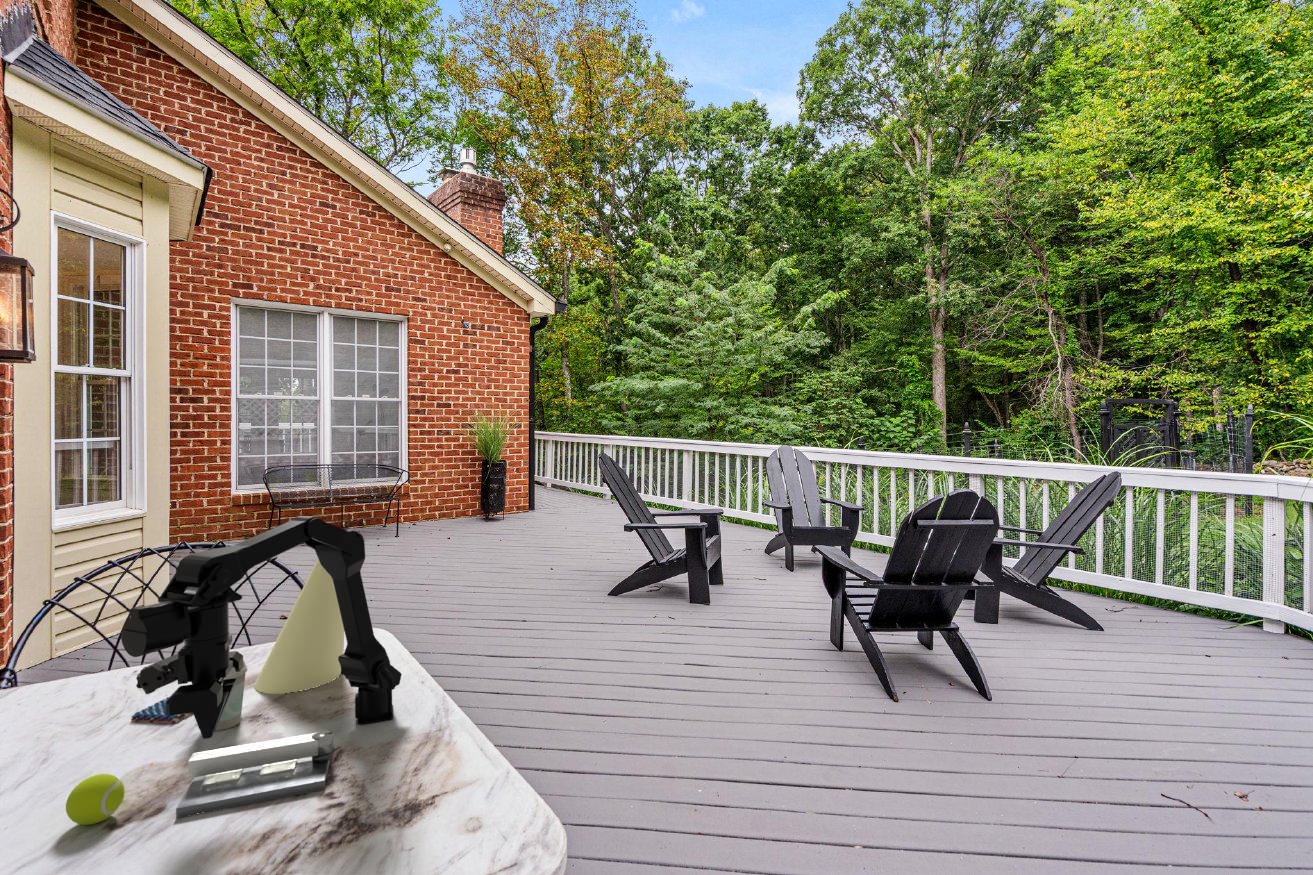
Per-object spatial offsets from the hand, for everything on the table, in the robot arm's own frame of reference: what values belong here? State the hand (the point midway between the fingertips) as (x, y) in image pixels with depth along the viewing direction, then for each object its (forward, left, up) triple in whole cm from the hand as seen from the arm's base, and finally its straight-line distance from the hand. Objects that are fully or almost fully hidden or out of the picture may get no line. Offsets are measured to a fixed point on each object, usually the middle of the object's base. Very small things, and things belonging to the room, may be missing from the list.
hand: (209, 735), depth 102 cm
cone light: (-8, -51, -11) cm, 53 cm away
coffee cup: (+5, -32, -11) cm, 34 cm away
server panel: (-6, -6, -11) cm, 14 cm away
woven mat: (+16, -43, -12) cm, 47 cm away
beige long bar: (-6, -6, -8) cm, 12 cm away
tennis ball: (+15, -2, -11) cm, 19 cm away
